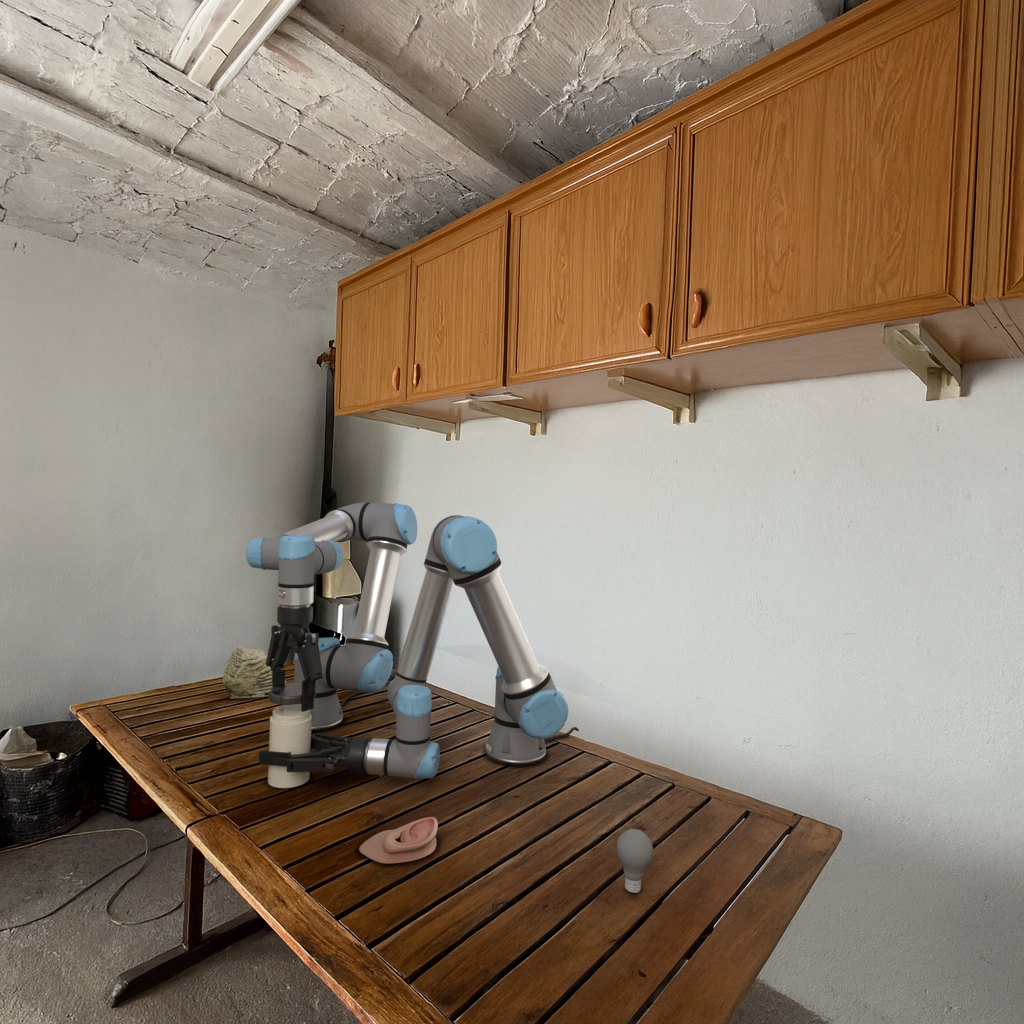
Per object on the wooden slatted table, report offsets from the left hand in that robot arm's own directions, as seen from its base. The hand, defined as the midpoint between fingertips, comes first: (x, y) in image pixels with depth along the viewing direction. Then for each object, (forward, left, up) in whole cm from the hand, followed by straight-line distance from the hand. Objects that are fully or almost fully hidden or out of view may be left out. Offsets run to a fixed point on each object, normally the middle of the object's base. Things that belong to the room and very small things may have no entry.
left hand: (292, 704), depth 141 cm
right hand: (+3, -4, -10) cm, 11 cm away
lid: (0, 0, +3) cm, 3 cm away
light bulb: (-16, +77, -17) cm, 80 cm away
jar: (0, 0, -17) cm, 17 cm away
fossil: (-25, -59, -17) cm, 66 cm away
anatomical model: (+2, +39, -17) cm, 43 cm away
